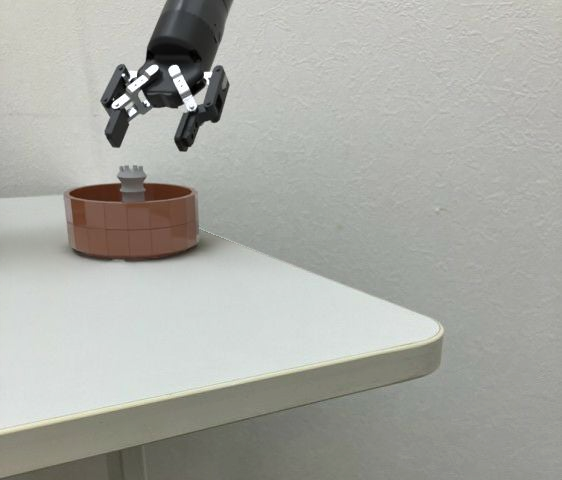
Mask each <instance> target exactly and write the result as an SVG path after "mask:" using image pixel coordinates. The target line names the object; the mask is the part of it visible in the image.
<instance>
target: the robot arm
mask: <svg viewBox="0 0 562 480" xmlns="http://www.w3.org/2000/svg"><path fill="white" fill-rule="evenodd" d="M234 1H235V0H166V1H165V3H164V5H163V7H162V9H161V12H160V15H159V17H158V19H157V21H156V24H155V26H154V29H153V32H152V34H151V36H150V38H149V41H148V43H147V46H146V52H145V54H146V55H145V61H144V63H143V64H142V66H140V67H139V68H138V70H132V69H131V70H130V69H128V68H127V65H126V64H125V63H120V64H118V65H117V66H116V67H115V70H114V72H113V74H112V76H111V77H110V80H109V82H108V83H107V85H106V87H105V90H104V92H103V94H102V96H101V98H100V100H99V102H100V103H101V105H102V107H103V108H104V110H105V112H106V113H107V115H108V116H109V119H108V120H107V124H106V126H105V128H104V136H105V137H106V140H107V141H108V143H109V144H110V146H111V147H112V148H114V149H120V148H121V146H122V144H123V141H124V140H125V139H124V138H125V136H126V134H127V132H128V129H129V128H130V127H129V126H130V122H131V121H132V120H134V119H135V118H136V117H138V116H139V115H143V116H144V115H146V114H147V113H148V112H150V111H151V110H152V109H163V108H168V109H173V110H178V109H179V107H181V106H183V105H184V107H185V109H186V111H187V112H182V114H181V117H180V120H179V123H178V126H177V128H176V131H175V134H174V137H173V141H174V144H175V146H176V148H177V149H178V151H179V152H182V153H187V152H188V150H189V148H191V147H192V146H193V145H194V143H195V141H196V138H197V135H198V133H199V129H200V127H202V126H204V124H205V123H206V122H210V123H212V124H217V123H218V122H220V121H221V117H222V114H223V110H224V107H225V104H226V100H227V96H228V92H229V89H230V81H229V79H228V76H227V74H226V71H225V68H224V66H223V65H221V64H217V65H216V66H214V67H213V68H212V66H213V64H214V61H215V59H216V56H217V53H218V51H219V47H220V46H221V42H222V40H223V36H224V33H225V29H226V28H225V27H226V23H227V20H228V17H229V14H230V11H231V8H232V6H233V3H234ZM211 69H212V71H211ZM206 87H207V88H206ZM205 88H206V92H205V95H204V99H203V102H202V103H200V104H198V103H197V102H196V100H195V98H194V97H195V96H196V95H198V94H199V93H200V92H202V90H203V89H205ZM141 91H142V94H143V96H144V98H145V100H144V101H142V100H141V98H140V97H139V93H140V92H141ZM131 103H132V106H131V107H129V108H128V109H127V108H126V107H127V106H129V105H130V104H131Z"/></svg>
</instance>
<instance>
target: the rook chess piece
mask: <svg viewBox="0 0 562 480" xmlns="http://www.w3.org/2000/svg"><path fill="white" fill-rule="evenodd" d="M118 168H119V171H118V172H117V174H116V178H117V179H118V181H119V183H121V184H122V188H121V189H120V192H121V193H122V202H143V201H145V197H144V192H145V191H146V189H145V188H144V186H143V183H145V181H146V180H147V179H146V178H147V177H148V175H147V173H146V172H145V171H144V166H143V165H138V164H132V168H131V167H130V165H129V164H125V165H120V166H119V167H118Z"/></svg>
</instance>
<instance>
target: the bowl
mask: <svg viewBox="0 0 562 480" xmlns="http://www.w3.org/2000/svg"><path fill="white" fill-rule="evenodd" d="M143 186H144V188H145V189H146V191H145V192H144V197H145V201H143V202H122V193H121V192H120V189H121V188H122V184H121V182H109V183H96V184H89V185H81V186H77V187H73V188H69V189H67V190H65V191H63V205H64V211H65V212H64V213H65V220H66V221H65V222H66V230H67V238H68V246H69V247H70V248H72V249H73V250H75V251H78V252H81V253H83V254H84V255H87V256H89V257H95V258H99V259H108V260H124V261H125V260H127V261H128V260H148V259H149V260H150V259H158V258H164V257H170V256H174V255H178V254H180V253H183V252H185V251H187V250H188V249H190V248H192V247H194V246H196V245H197V244H198V243H199V241H200V218H199V217H200V216H199V192H198V190H197V189H195V188H193V187H190V186H186V185H183V184H175V183H164V182H143Z"/></svg>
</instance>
